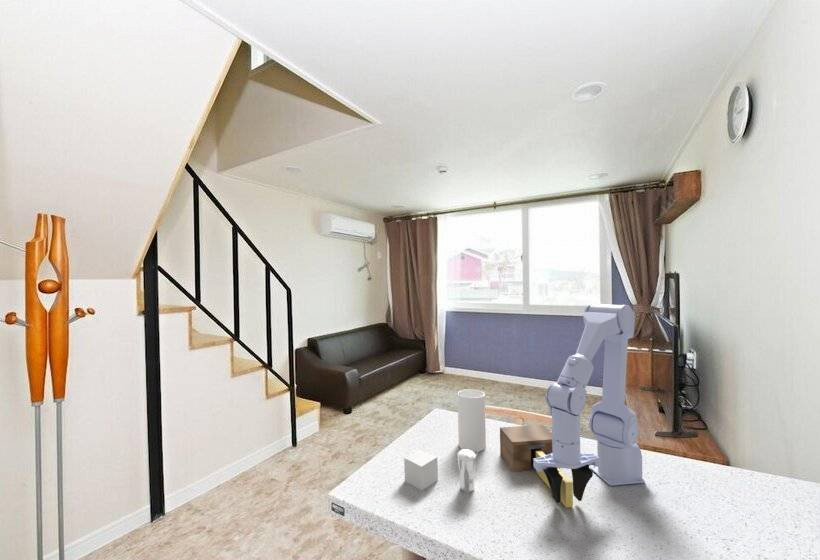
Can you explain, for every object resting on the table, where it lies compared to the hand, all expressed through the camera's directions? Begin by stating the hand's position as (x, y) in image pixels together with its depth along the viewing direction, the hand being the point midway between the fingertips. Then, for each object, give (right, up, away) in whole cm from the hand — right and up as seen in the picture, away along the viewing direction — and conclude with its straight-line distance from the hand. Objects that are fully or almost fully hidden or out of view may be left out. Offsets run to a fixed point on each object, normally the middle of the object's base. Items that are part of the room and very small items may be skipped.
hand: (567, 499), depth 77 cm
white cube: (-32, -2, +11) cm, 34 cm away
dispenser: (-2, -1, +19) cm, 19 cm away
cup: (-16, -2, +28) cm, 33 cm away
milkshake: (-21, -2, +7) cm, 22 cm away
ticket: (-1, -1, +6) cm, 6 cm away
